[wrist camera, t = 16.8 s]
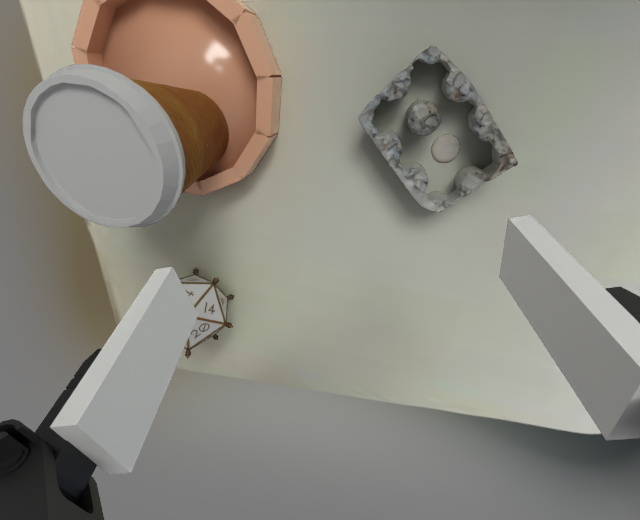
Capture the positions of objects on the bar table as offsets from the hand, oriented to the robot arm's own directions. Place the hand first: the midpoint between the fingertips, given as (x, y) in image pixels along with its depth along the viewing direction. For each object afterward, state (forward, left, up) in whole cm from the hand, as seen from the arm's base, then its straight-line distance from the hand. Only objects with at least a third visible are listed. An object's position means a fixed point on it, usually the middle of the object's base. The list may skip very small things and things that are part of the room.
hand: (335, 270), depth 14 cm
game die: (+21, +7, -19) cm, 29 cm away
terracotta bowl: (+12, -11, -18) cm, 25 cm away
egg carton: (-6, 0, -19) cm, 20 cm away
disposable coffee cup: (+13, -8, -18) cm, 23 cm away
